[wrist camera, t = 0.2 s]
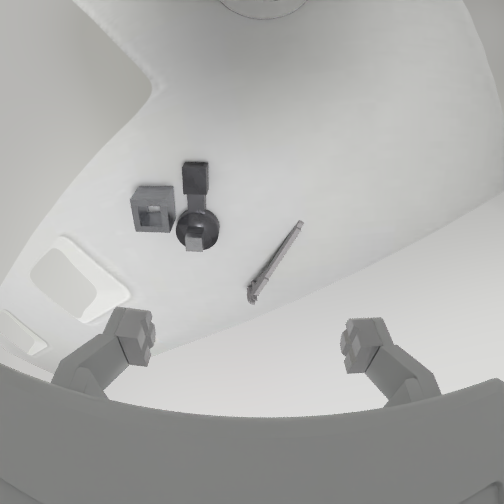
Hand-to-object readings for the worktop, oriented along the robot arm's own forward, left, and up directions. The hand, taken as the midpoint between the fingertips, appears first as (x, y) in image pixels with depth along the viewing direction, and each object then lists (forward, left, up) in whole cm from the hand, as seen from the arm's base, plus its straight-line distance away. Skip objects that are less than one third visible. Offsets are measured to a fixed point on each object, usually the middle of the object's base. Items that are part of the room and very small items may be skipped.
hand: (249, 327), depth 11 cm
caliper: (+28, +6, -39) cm, 49 cm away
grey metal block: (+16, -17, -39) cm, 45 cm away
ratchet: (+17, -9, -39) cm, 43 cm away
